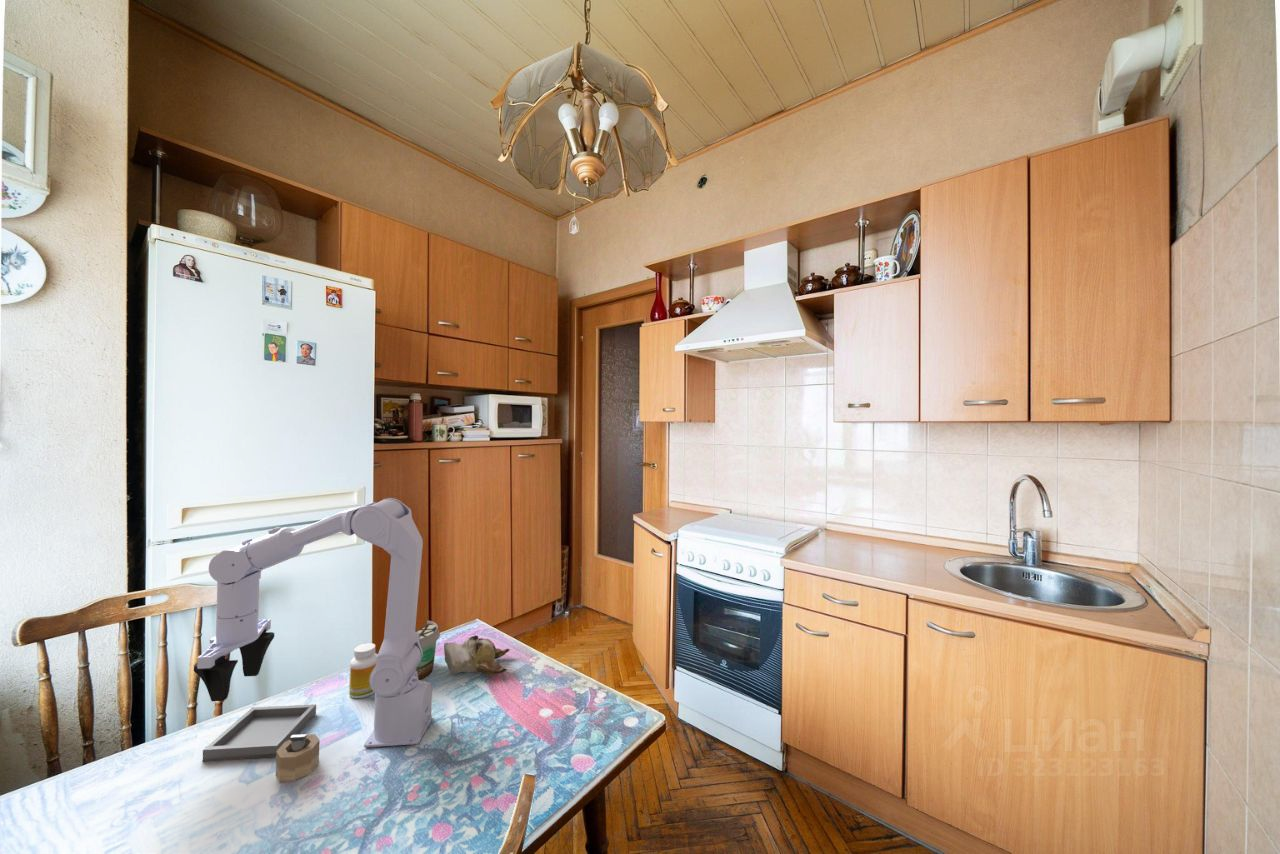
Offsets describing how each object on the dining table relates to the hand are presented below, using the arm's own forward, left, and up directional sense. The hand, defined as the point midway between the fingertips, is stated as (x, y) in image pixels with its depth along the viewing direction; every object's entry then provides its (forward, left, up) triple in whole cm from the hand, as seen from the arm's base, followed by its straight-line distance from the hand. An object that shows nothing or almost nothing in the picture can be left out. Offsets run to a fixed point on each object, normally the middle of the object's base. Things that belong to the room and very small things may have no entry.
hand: (236, 687), depth 81 cm
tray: (-4, -1, -10) cm, 11 cm away
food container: (-26, -20, -10) cm, 34 cm away
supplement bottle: (-15, -14, -10) cm, 23 cm away
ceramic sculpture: (-38, -21, -10) cm, 44 cm away
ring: (-15, +8, -10) cm, 20 cm away
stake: (-15, +8, -10) cm, 20 cm away
